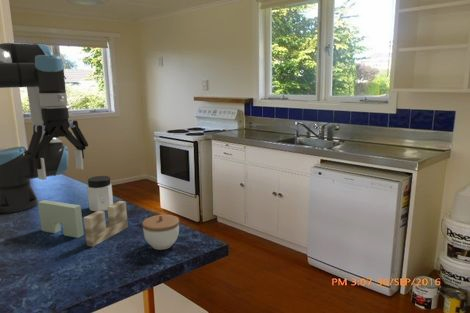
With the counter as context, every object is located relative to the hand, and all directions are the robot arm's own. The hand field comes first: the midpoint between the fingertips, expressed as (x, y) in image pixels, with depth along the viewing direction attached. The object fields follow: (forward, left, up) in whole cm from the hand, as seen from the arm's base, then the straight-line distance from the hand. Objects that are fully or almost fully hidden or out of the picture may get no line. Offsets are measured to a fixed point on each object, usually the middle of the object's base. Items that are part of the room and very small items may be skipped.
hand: (62, 173), depth 116 cm
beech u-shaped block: (+13, +8, -20) cm, 25 cm away
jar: (-14, +17, -20) cm, 30 cm away
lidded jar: (+31, +17, -20) cm, 40 cm away
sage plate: (0, -2, -20) cm, 20 cm away
